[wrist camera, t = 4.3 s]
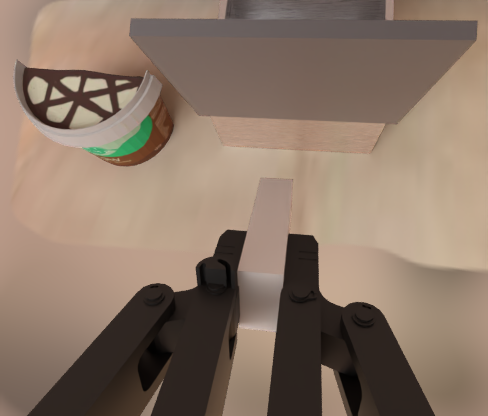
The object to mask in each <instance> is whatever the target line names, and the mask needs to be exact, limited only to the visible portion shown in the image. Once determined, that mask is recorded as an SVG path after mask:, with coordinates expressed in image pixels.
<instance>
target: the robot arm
mask: <svg viewBox="0 0 488 416" xmlns="http://www.w3.org/2000/svg"><path fill="white" fill-rule="evenodd" d="M292 189H293V179H276V178H261V179H260V183H259V187H258V191H257V195H256V199H255V203H254V207H253V211H252V215H251V219H250V223H249V227H248V231H236V230H227V231H226V232H224V233H223V234H222V235H221V236H220V238H219V241H218V244H217V247H216V249H215V253H214V255H213V257H209V258H206V259H203V260H202V261H200V262H199V263H198V264H197V266H196V275H197V284H198V286H197V287H195V288H193V289H190V290H186V291H180V292H173V290H172V289H171V287H169V286H167V285H166V284H160V283H156V284H150V285H148V286H145V287H143V288H142V289H141V290H140V291H138V292H137V293H136V294H135V296H134V297H133V298H132V299H131V300H130V301H129V302H128V303H127V305H126V306H125V307H124V308H123V309H122V310H121V311H120V313H118V315H117V316H116V317H115V318H114V319H113V320H112V321H111V322H110V324H109V325H108V326H107V327H106V328H105V329H104V330H103V331H102V332H101V334H100V335H99V336H98V337H97V338H96V339H95V340H94V341H93V343H92V344H91V345H90V346H89V347H88V348H87V349H86V350H85V352H84V353H83V354H82V355H81V356H80V357H79V359H77V361H76V362H75V363H74V364H73V365H72V366H71V367H70V368H69V370H68V371H67V372H66V373H65V374H64V375H63V376H62V377H61V379H60V380H59V381H58V382H57V383H56V384H55V385H54V386H53V387H52V389H51V390H50V391H49V392H48V393H47V394H46V395H45V396H44V397H43V399H42V400H41V401H40V402H39V403H38V404H37V405H36V406H35V408H34V409H33V410H32V411H31V412H30V413H29V414H28V415H27V416H140V415H141V413H142V412H143V410H144V409H145V407H146V406H147V404H148V402H149V401H150V399H151V398H152V396H153V395H154V393H155V391H156V390H157V388H158V387H159V385H160V384H161V382H162V381H163V383H162V386H161V389H160V391H159V394H158V397H157V400H156V403H155V406H154V408H153V411H152V414H151V416H222V414H223V408H224V404H225V398H226V393H227V389H228V384H229V379H230V374H231V369H232V364H233V359H234V354H235V349H236V344H237V328H238V323H239V328H244V329H253V330H262V331H271V332H276V339H275V348H274V357H273V366H272V375H271V385H270V394H269V403H268V412H267V416H322V394H321V393H322V388H321V364H322V365H324V366H327V367H329V368H332V369H333V371H334V375H335V378H336V381H337V384H338V388H339V391H340V394H341V397H342V400H343V404H344V407H345V410H346V413H347V416H435V415H434V412H433V411H432V409H431V407H430V405H429V403H428V401H427V399H426V397H425V395H424V393H423V391H422V389H421V387H420V385H419V383H418V381H417V379H416V377H415V375H414V373H413V371H412V369H411V367H410V366H409V363H408V362H407V360H406V358H405V356H404V354H403V352H402V350H401V348H400V346H399V344H398V342H397V340H396V338H395V336H394V334H393V332H392V330H391V328H390V326H389V324H388V323H387V320H386V318H385V317H384V315H383V314H382V312H381V311H380V310H379V309H377V308H376V307H375V306H373V305H370V304H368V303H364V302H355V303H350V304H348V305H347V306H346V307H341V306H338V305H335V304H333V303H331V302H329V301H327V300H326V299H325V298H324V297H323V296H322V294H321V293H320V291H319V275H318V274H319V273H318V272H319V269H318V243H317V241H316V240H315V238H314V236H313V235H299V234H290V225H291V207H292ZM163 379H164V380H163Z"/></svg>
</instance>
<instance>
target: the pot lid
mask: <svg viewBox="0 0 488 416" xmlns="http://www.w3.org/2000/svg"><path fill="white" fill-rule="evenodd" d="M129 36H130V37H131V38H132V40H133V41H134V42H135V43H136V44H137V45H138V46H139V48H140V49H141V50H142V51H143V52H144V53H145V54H146V56H147V57H148V58H149V59H150V60H151V61H152V62H153V64H154V65H155V66H156V67H157V68H158V69H159V70H160V72H161V73H162V74H163V75H164V76H165V77H166V78H167V80H168V81H169V82H170V83H171V84H172V85H173V87H174V88H175V89H176V90H177V91H178V92H179V93H180V95H181V96H182V97H183V98H184V99H185V100H186V101H187V103H188V104H189V105H190V106H191V107H192V108H193V109H194V111H195V112H196V113H197V114H198V115H199V116H218V117H242V118H265V119H289V120H313V121H336V122H360V123H384V124H397V123H398V122H399V121H400V120H401V119H402V118H403V117H404V116H405V115H406V114H407V113H408V112H409V111H410V110H411V109H412V108H413V107H414V105H415V104H416V103H417V102H418V101H419V100H420V99H421V98H422V97H423V96H424V95H425V94H426V93H427V92H428V91H429V90H430V89H431V88H432V87H433V85H434V84H435V83H436V82H437V81H438V80H439V79H440V78H441V77H442V76H443V75H444V74H445V73H446V72H447V71H448V70H449V69H450V68H451V67H452V65H453V64H454V63H455V62H456V61H457V60H458V59H459V58H460V57H461V56H462V55H463V54H464V53H465V52H466V51H467V50H468V49H469V48H470V46H471V45H472V44H473V43H474V42H475V41H476V37H477V21H437V20H278V19H131V24H130V34H129Z"/></svg>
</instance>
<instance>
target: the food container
mask: <svg viewBox="0 0 488 416" xmlns="http://www.w3.org/2000/svg"><path fill="white" fill-rule="evenodd" d="M13 79H14V89H15V92H16V96H17V98H18V100H19V103H20V105H21V107H22V109H23V111H24V113H25V114H26V115H27V117H28V118H29V119H30V121H31V122H32V123H33V124H34V125H35V126H36V128H37V129H38V130H39V131H40V132H41V133H43V134H44V135H45V136H46V137H48V138H49V139H51V140H53V141H54V142H57V143H59V144H62V145H65V146H70V147H77V148H83V149H85V150H86V151H88V152H90V153H92V154H94V155H95V156H97V157H99V158H101V159H102V160H104V161H106V162H109V163H111V164H113V165H117V166H134V165H138V164H141V163H143V162H145V161H148V160H149V159H151V158H152V157H154V156H155V155H156V154H157V153H159V152H160V151H161V149H162V148H163V147H164V146H165V145H166V143H167V141H168V140H169V138H170V136H171V134H172V131H173V127H174V124H173V122H172V120H171V118H170V115H169V113H168V111H167V109H166V107H165V105H164V102H163V100H162V98H161V96H160V92H161V89H162V84H161V82H160V81H159V80H158V79H157V78H156V77H155V76H154V75H151V74H150V73H149V72H148V70H146V73H145V76H144V77H140V76H139V77H129V76H119V75H111V74H104V73H99V72H92V71H86V70H49V69H37V68H27V67H26V66H25V65H23V64H22V63H21V62H20V61H18V60H16V62H15V67H14V76H13Z"/></svg>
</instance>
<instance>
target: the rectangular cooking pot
mask: <svg viewBox="0 0 488 416" xmlns="http://www.w3.org/2000/svg"><path fill="white" fill-rule="evenodd" d="M393 15H394V0H220V6H219V14H218V19H278V20H393ZM210 118H211V120H212V122H213V124H214V126H215V129H216V131H217V133H218V135H219V137H220V140H221V142H222V144H223V146H236V147H255V148H274V149H293V150H312V151H331V152H350V153H369V154H370V153H371V151H372V149H373V147H374V145H375V143H376V142H377V140H378V138H379V136H380V134H381V132H382V130H383V128H384V127H385V125H386V124H384V123H360V122H336V121H313V120H289V119H265V118H242V117H218V116H210Z"/></svg>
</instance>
